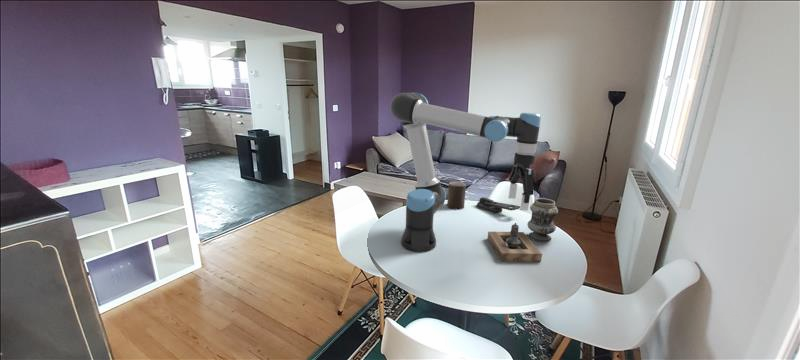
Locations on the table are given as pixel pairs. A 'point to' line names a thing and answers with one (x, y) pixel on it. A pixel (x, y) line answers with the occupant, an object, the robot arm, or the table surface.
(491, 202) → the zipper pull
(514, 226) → the stone chess piece
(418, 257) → the table surface
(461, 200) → the pillar candle
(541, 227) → the apothecary jar
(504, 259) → the block
